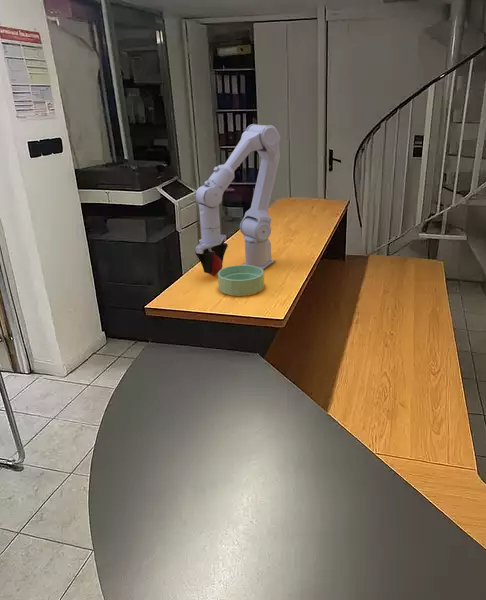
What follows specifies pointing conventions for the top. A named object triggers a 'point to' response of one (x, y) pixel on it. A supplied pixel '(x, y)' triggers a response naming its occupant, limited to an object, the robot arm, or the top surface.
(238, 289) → the bowl
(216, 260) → the onion
